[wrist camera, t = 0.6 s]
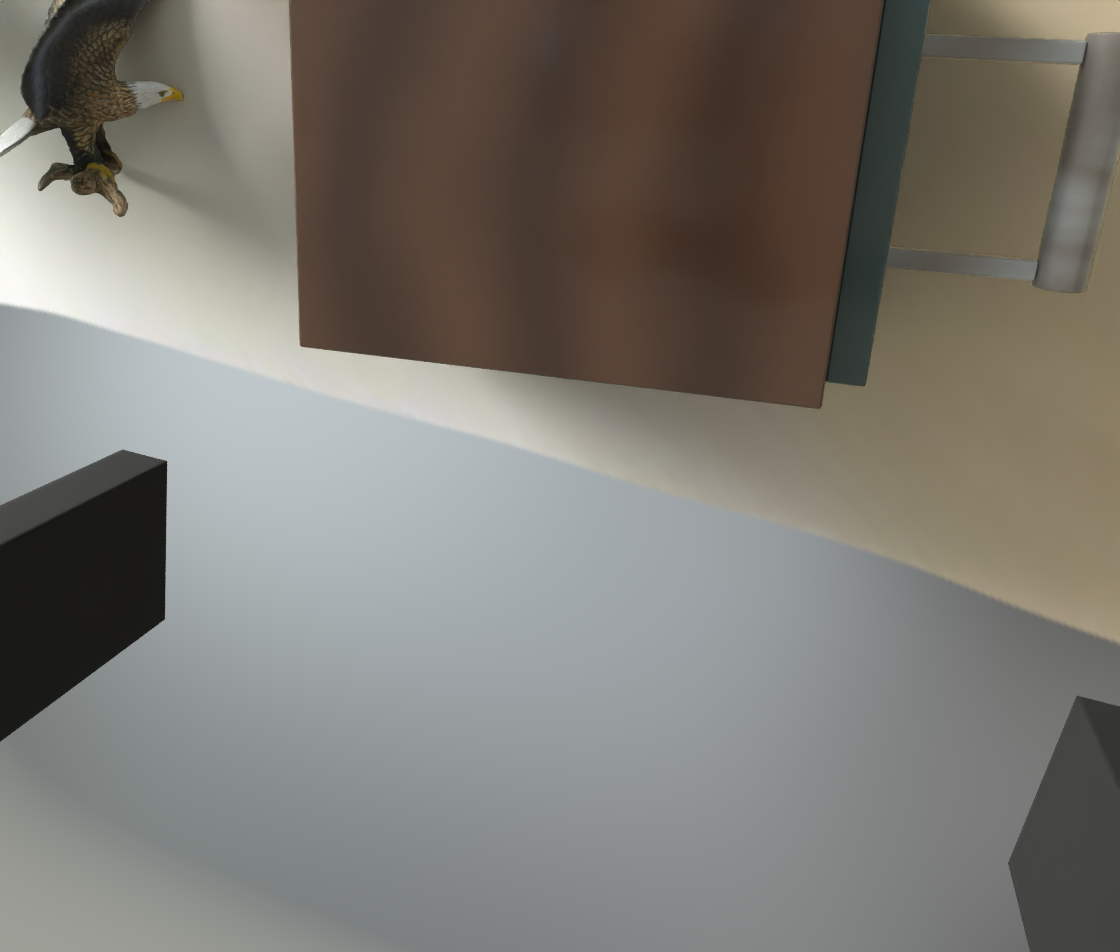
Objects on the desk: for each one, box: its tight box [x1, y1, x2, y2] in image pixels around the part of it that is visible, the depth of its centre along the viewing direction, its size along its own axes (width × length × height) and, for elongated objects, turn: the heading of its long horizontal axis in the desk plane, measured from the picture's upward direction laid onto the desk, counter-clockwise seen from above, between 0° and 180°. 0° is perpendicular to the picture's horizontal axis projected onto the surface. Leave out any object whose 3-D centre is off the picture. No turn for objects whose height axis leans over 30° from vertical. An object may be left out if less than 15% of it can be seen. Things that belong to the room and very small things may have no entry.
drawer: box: [826, 0, 1120, 386], centre depth 32 cm, size 22×13×7 cm, turn 86°
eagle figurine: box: [0, 0, 183, 217], centre depth 38 cm, size 8×7×9 cm
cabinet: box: [289, 0, 884, 409], centre depth 33 cm, size 17×14×9 cm
